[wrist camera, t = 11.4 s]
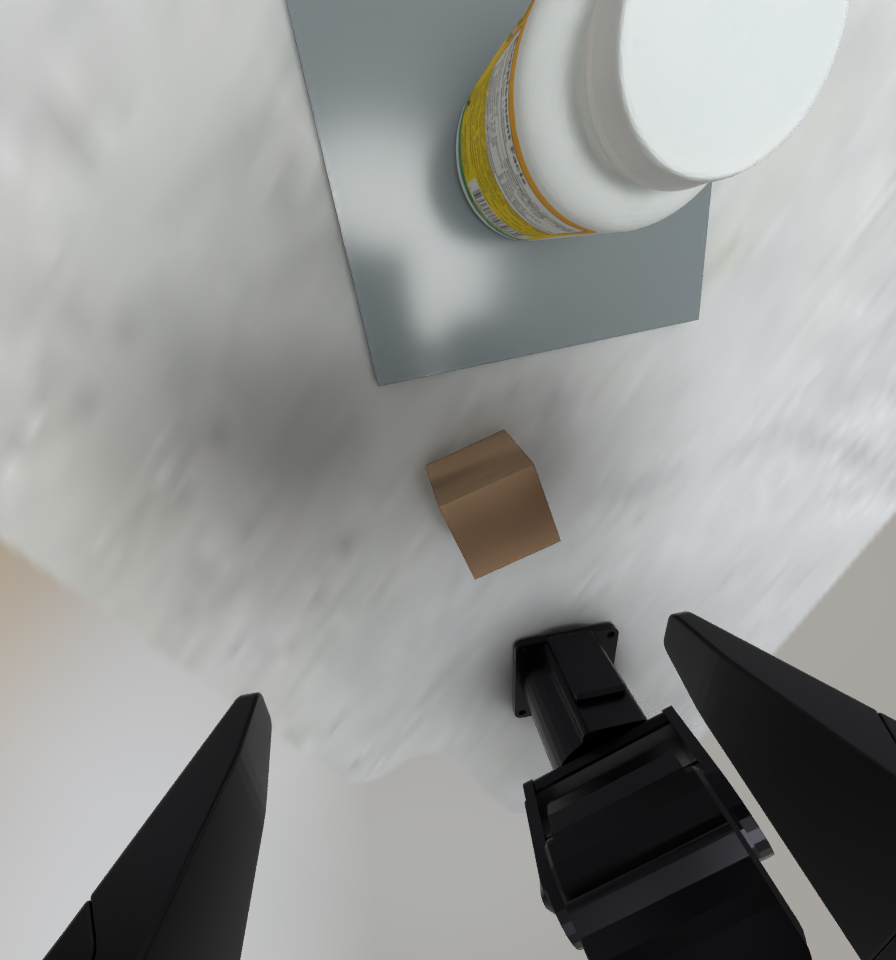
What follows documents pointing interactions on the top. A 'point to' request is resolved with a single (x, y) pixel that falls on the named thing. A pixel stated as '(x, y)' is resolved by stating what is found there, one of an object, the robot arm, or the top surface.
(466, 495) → the walnut block
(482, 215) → the supplement bottle
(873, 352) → the top surface
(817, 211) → the top surface
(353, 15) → the coaster
